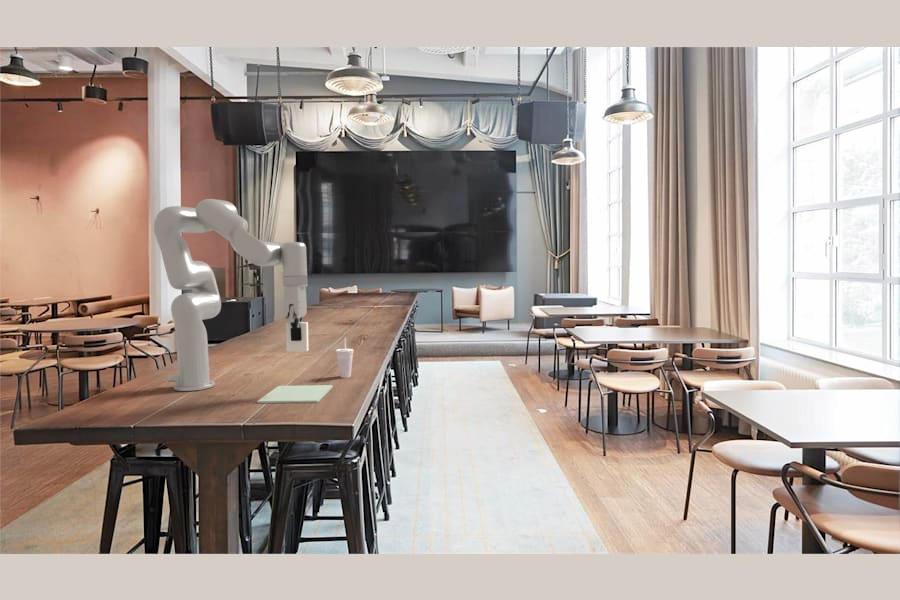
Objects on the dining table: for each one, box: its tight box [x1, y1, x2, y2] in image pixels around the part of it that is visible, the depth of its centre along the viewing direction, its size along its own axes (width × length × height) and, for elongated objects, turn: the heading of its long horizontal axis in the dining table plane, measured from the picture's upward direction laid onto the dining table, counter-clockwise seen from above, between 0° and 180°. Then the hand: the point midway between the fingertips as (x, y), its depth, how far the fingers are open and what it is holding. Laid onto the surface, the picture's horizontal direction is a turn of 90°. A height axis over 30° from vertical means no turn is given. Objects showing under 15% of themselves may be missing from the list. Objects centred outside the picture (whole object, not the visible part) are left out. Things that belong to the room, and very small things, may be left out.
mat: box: [256, 384, 333, 404], centre depth 182 cm, size 18×20×1 cm
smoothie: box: [335, 337, 354, 379], centre depth 207 cm, size 6×6×14 cm
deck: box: [285, 321, 310, 352], centre depth 183 cm, size 6×2×9 cm, turn 89°
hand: (297, 339), depth 184 cm, fingers closed on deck, 2 cm apart
